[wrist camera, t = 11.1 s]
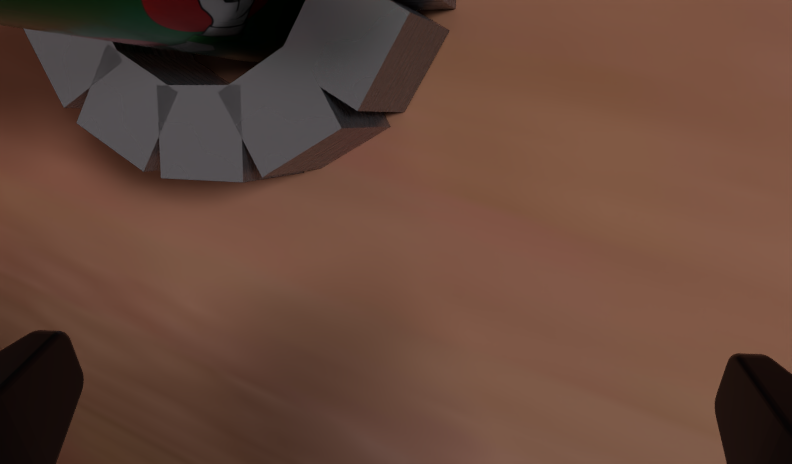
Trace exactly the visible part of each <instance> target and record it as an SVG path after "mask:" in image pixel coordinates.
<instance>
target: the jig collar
mask: <svg viewBox="0 0 792 464" xmlns="http://www.w3.org/2000/svg"><path fill="white" fill-rule="evenodd" d="M438 9H456V0H305V2H304V4H303V6H302V9H301V11H300V13H299V15H298V17H297V19H296V21H295V23H294V25H293V28H292V30H291V32H290V34H289V36H288V38H287V40H286V42H285V44H284V46H283V47H282V48H280V49H279V50H277V51H276V52H275V53H273V54H272V55H270V56H269V57H267V58H266V59H265V60H263V61H262V62H260V63H259V64H257V65H256V66H255V67H253V68H252V69H250V70H249V71H248V72H246V73H245V74H243V75H242V76H240V77H239V78H238V79H236V80H235V81H233V82H232V83H228V82H227V81H225V80H224V79H222V78H221V77H219V76H218V75H216V74H215V73H213V72H212V71H210V70H209V69H207V68H206V67H204V66H203V65H201V64H200V63H198V62H197V61H195V59H194V57H193V55H192V53H186V52H179V51H172V50H166V49H159V48H152V47H145V46H139V45H132V44H125V43H118V42H111V41H105V40H98V39H91V38H84V37H78V36H71V35H64V34H57V33H50V32H44V31H37V30H30V29H24V31H25V33H26V35H27V37H28V39H29V41H30V43H31V45H32V47H33V49H34V50H35V52H36V54H37V56H38V58H39V60H40V62H41V64H42V66H43V68H44V70H45V72H46V74H47V76H48V78H49V80H50V82H51V84H52V86H53V88H54V90H55V92H56V94H57V95H58V97H59V99H60V101H61V103H62V105H63V107H64V108H82V110H81V112H80V115H79V118H78V120H77V124H78V125H80V126H81V127H83V128H84V129H85V130H87V131H88V132H89V133H91V134H92V135H94V136H95V137H96V138H98V139H99V140H100V141H102V142H103V143H105V144H106V145H107V146H109V147H110V148H112V149H113V150H114V151H116V152H117V153H118V154H120V155H121V156H123V157H124V158H125V159H127V160H128V161H129V162H131V163H132V164H134V165H135V166H136V167H138V168H139V169H140V170H142V171H143V172H146V171H155V170H161V178H167V179H187V180H206V181H226V182H248V181H255V180H261V179H267V178H273V177H279V176H286V175H292V174H298V173H304V171H306V170H313V169H319V168H322V167H324V166H326V165H327V164H329V163H331V162H332V161H334V160H336V159H337V158H339V157H341V156H342V155H344V154H346V153H347V152H349V151H351V150H352V149H354V148H356V147H357V146H359V145H361V144H362V143H364V142H366V141H367V140H369V139H371V138H372V137H374V136H376V135H377V134H379V133H381V132H382V131H384V130H386V129H387V128H389V127H390V125H389V123H388V121H387V119H386V117H385V115H384V113H383V112H405V110H406V108H407V106H408V105H409V103H410V101H411V99H412V97H413V96H414V94H415V92H416V90H417V88H418V87H419V85H420V83H421V81H422V79H423V78H424V76H425V74H426V72H427V70H428V69H429V67H430V65H431V63H432V61H433V60H434V58H435V56H436V54H437V52H438V51H439V49H440V47H441V45H442V43H443V42H444V40H445V38H446V36H447V34H448V33H449V31H450V30H448V29H446V28H445V27H443V26H441V25H440V24H438V23H436V22H434V21H433V20H431V19H429V18H428V17H426V16H424V15H423V14H421V13H419V12H418V11H416V10H438Z"/></svg>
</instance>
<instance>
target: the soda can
mask: <svg viewBox="0 0 792 464" xmlns="http://www.w3.org/2000/svg"><path fill="white" fill-rule="evenodd" d="M304 2H305V0H0V25H3V26H10V27H16V28H23V29H30V30H37V31H44V32H50V33H57V34H64V35H71V36H78V37H84V38H91V39H98V40H105V41H111V42H118V43H125V44H132V45H139V46H145V47H152V48H159V49H166V50H172V51H179V52H186V53H193V54H200V55H206V56H213V57H220V58H227V59H234V60H240V61H247V62H262V61H263V60H265V59H266V58H267V57H269V56H270V55H272V54H273V53H275V52H276V51H277V50H279V49H280V48H282V47H283V46H284V44H285V42H286V40H287V38H288V36H289V34H290V32H291V30H292V28H293V25H294V23H295V21H296V19H297V17H298V15H299V13H300V11H301V9H302V6H303V4H304Z"/></svg>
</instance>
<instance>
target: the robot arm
mask: <svg viewBox="0 0 792 464" xmlns="http://www.w3.org/2000/svg"><path fill="white" fill-rule="evenodd" d="M83 380H84V379H83V372H82V369H81V366H80V364H79V361H78V359H77V356H76V353H75V351H74V348H73V345H72V343H71V340H70V338H69V336H68V335H67V334H66V333H65V332H62V331H46V330H38V331H33V332H31V333H29V334H28V335H26V336H24V337H23V338H21V339H19V340H18V341H16V342H14V343H13V344H11V345H9V346H8V347H6V348H4V349H3V350H1V351H0V464H56V462H57V459H58V456H59V453H60V451H61V448H62V445H63V442H64V439H65V437H66V434H67V431H68V428H69V425H70V423H71V420H72V417H73V414H74V412H75V409H76V406H77V403H78V400H79V398H80V395H81V392H82V388H83ZM715 414H716V419H717V423H718V428H719V432H720V436H721V440H722V445H723V449H724V453H725V458H726V462H727V464H792V374H791V373H790V372H788V371H787V370H786V369H785V368H783V367H782V366H781V365H779V364H778V363H777V362H775V361H774V360H773V359H771V358H770V357H768V356H766V355H762V354H740V353H738V354H734V355H732V356H731V357H730V358H729V360H728V362H727V365H726V368H725V371H724V374H723V377H722V380H721V383H720V386H719V389H718V392H717V395H716V398H715Z"/></svg>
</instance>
